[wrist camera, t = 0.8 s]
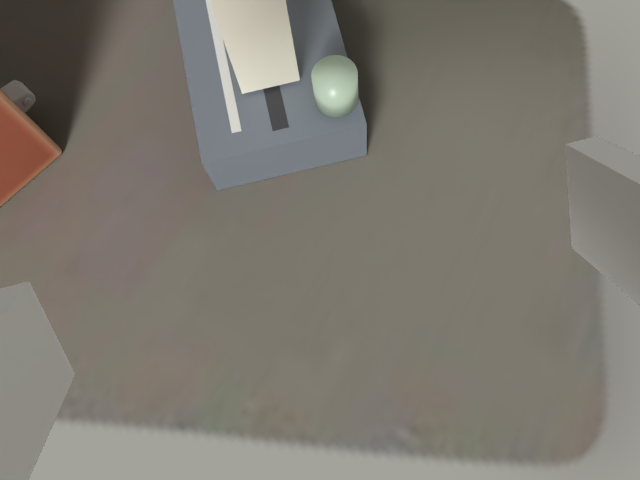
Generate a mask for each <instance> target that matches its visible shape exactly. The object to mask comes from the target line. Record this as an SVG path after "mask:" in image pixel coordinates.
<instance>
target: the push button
mask: <svg viewBox="0 0 640 480" xmlns="http://www.w3.org/2000/svg"><path fill="white" fill-rule="evenodd" d="M311 78H312V85H313V92H314V99H315V104H316V106H317V108H318V110H319V111H320V112H321V113H323V114H324V115H326V116H329V117H342V116H345V115H347V114H349V113H350V112H352V111H353V110H354V109H355V107H356V105H357V103H358V71H357V68H356V66H355V64H354V63H353V62H352V61H351V60H350V59H348V58H347V57H344V56H341V55H330V56H327V57H324V58H322V59H321V60H319V61H318V62H317V63H316V64H315V66H314V67H313V69H312V73H311Z"/></svg>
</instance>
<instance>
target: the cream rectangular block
mask: <svg viewBox="0 0 640 480" xmlns="http://www.w3.org/2000/svg"><path fill="white" fill-rule="evenodd" d="M209 1H210V4H211V7H212V9H213V12H214V15H215V18H216V21H217V24H218V27H219V29H220V32H221V35H222V38H223V41H224V44H225V46H226V49H227V52H228V55H229V58H230V61H231V64H232V66H233V69H234V72H235V75H236V78H237V81H238V84H239V86H240V89H241V92H242V94H244V93H248V92H253V91H257V90H261V89H265V88H270V87H274V86H278V85H282V84H287V83H291V82H295V81H299V80H300V77H299V72H298V66H297V61H296V55H295V50H294V44H293V38H292V33H291V27H290V22H289V16H288V11H287V5H286V0H209Z"/></svg>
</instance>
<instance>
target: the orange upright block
mask: <svg viewBox="0 0 640 480" xmlns="http://www.w3.org/2000/svg"><path fill="white" fill-rule="evenodd" d="M35 101H36V100H35V96H34V94H33V93H32V92H31V91H30V90H29V89H28V88H27V87H26V86H25V85H24V84H23V83H22V82H20V81H17V80H13V81H11V82H10V83H8V84H7V85H5V86H3V87H2V88H0V207H1V206H2V205H3V204H4V203H6V202H7V201H8V200H9V199H10V198H11V197H12V196H14V195H15V194H16V193H17V192H18V191H19V190H21V189H22V188H23V187H24V186H25V185H26V184H28V183H29V182H30V181H31V180H32V179H33V178H34V177H36V176H37V175H38V174H39V173H40V172H41V171H43V170H44V169H45V168H46V167H47V166H48V165H49V164H51V163H52V162H53V161H54V160H55V159H56V158H58V157H59V156H60V155H61V154H62V150H61V148H60V147H59V146H58V145H57V144H56V143H55V142H54V141H53V140H52V139H51V138H50V137H49V136H48V135H47V134H46V133H45V132H44V131H43V130H42V129H41V128H40V127H39V126H38V125H37V124H36V123H35V122H34V121H33V120H32V119H31V118H30V117H29V116H28V115H27V114H26V112H27V111H28V109H29V108H30V107H31V106H32V105H33V104H34V103H35Z"/></svg>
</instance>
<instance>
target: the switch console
mask: <svg viewBox="0 0 640 480" xmlns="http://www.w3.org/2000/svg"><path fill="white" fill-rule="evenodd" d="M173 4H174V9H175V15H176V21H177V26H178V32H179V38H180V43H181V49H182V55H183V61H184V66H185V72H186V78H187V83H188V89H189V95H190V100H191V106H192V112H193V118H194V123H195V129H196V135H197V140H198V146H199V152H200V157H201V163H202V165H203V167H204V168H205V170H206V172H207V174H208V175H209V177H210V179H211V181H212V182H213V184H214V186H215V187H216V189H217V191H218V190H222V189H226V188H230V187H235V186H239V185H243V184H247V183H252V182H256V181H260V180H264V179H268V178H273V177H277V176H281V175H285V174H290V173H294V172H298V171H302V170H307V169H311V168H315V167H319V166H324V165H328V164H332V163H336V162H341V161H345V160H349V159H353V158H357V157H362V156H366V155H367V123H366V120H365V116H364V113H363V109H362V106H361V102H360V99H359V95H358V103H357V105H356V107H355V109H354V110H353V111H352V112H350V113H349V114H347V115H345V116H342V117H329V116H326V115H324V114H323V113H321V112H320V111H319V110H318V108H317V106H316V104H315V99H314V92H313V85H312V78H311V73H312V69H313V67H314V66H315V64H316V63H317V62H318V61H319V60H321V59H322V58H324V57H327V56H330V55H341V56H344V57H347V53H346V50H345V46H344V43H343V39H342V36H341V32H340V29H339V25H338V22H337V18H336V15H335V11H334V8H333V4H332V1H331V0H286V5H287V11H288V16H289V22H290V27H291V33H292V38H293V44H294V50H295V55H296V61H297V66H298V72H299V77H300V80H299V81H295V82H291V83H287V84H282V85H278V86H274V87H270V88H265V89H261V90H257V91H253V92H248V93H244V94H242V92H241V89H240V86H239V84H238V81H237V78H236V75H235V72H234V69H233V66H232V64H231V61H230V58H229V55H228V52H227V49H226V46H225V44H224V41H223V38H222V35H221V32H220V29H219V27H218V24H217V21H216V18H215V15H214V12H213V9H212V7H211V4H210V1H209V0H173ZM347 58H348V57H347Z"/></svg>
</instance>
